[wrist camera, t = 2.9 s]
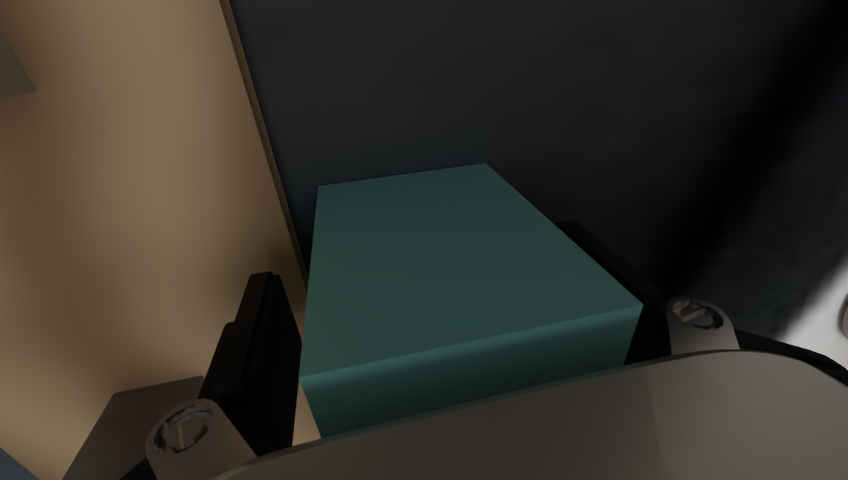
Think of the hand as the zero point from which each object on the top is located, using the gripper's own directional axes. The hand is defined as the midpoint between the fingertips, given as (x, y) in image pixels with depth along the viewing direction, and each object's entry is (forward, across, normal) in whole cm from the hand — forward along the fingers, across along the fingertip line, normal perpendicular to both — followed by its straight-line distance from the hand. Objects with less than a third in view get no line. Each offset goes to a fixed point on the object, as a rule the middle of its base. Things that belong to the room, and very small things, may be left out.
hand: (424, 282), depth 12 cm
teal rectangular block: (+2, 0, 0) cm, 2 cm away
